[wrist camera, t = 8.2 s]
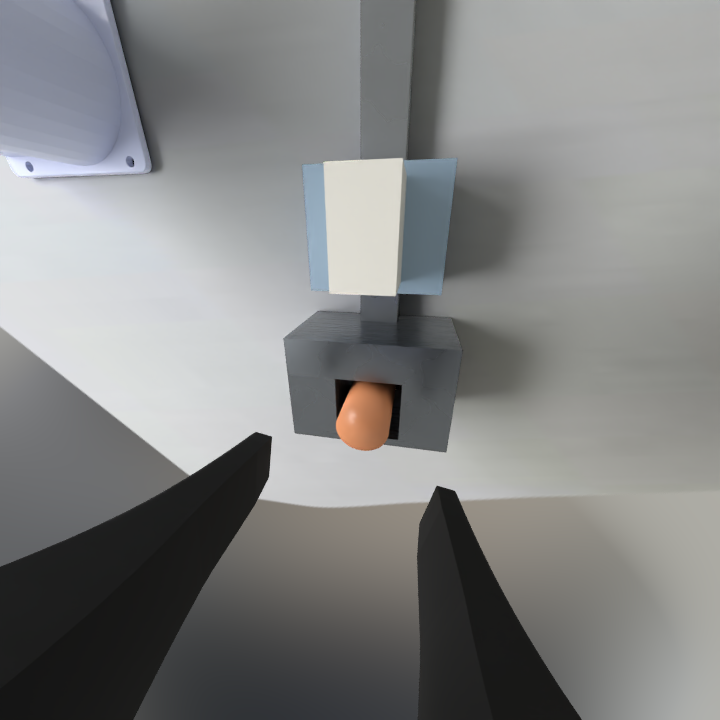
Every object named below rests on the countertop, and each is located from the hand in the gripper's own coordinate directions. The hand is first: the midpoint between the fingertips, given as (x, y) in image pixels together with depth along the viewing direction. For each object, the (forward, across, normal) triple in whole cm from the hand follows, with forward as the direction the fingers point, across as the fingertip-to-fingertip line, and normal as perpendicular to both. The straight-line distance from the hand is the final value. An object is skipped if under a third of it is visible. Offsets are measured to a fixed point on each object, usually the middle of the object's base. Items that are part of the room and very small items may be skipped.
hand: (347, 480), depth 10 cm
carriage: (+9, +2, -8) cm, 12 cm away
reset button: (+7, 0, 0) cm, 7 cm away
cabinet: (+9, 0, -1) cm, 9 cm away
